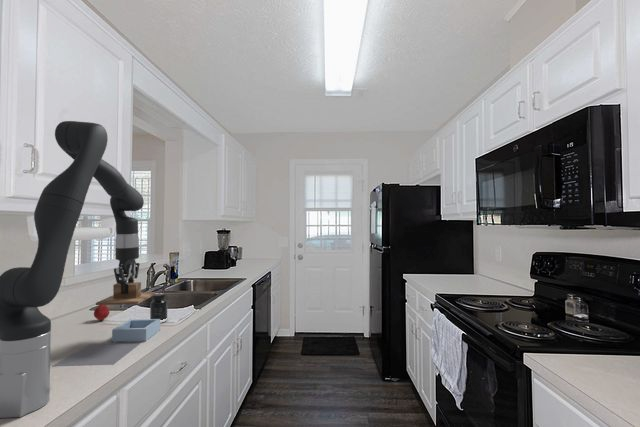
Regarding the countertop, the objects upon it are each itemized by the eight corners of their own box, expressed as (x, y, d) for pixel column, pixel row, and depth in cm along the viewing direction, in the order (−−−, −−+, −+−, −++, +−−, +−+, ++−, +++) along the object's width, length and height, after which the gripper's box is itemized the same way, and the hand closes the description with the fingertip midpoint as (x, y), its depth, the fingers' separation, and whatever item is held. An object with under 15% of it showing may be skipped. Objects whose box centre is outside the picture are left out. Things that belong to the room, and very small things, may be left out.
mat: (113, 366, 99) (113, 364, 99) (51, 367, 98) (51, 366, 98) (141, 343, 117) (141, 342, 117) (90, 345, 116) (90, 343, 116)
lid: (137, 304, 112) (137, 287, 112) (95, 305, 111) (95, 288, 111) (155, 294, 126) (155, 279, 126) (118, 294, 125) (118, 279, 125)
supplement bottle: (170, 319, 145) (170, 293, 145) (160, 324, 138) (160, 296, 139) (157, 319, 146) (157, 292, 147) (146, 323, 140) (146, 295, 140)
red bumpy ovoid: (112, 319, 146) (112, 301, 146) (100, 323, 140) (101, 304, 140) (102, 318, 147) (102, 300, 147) (90, 322, 142) (90, 303, 142)
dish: (146, 342, 118) (146, 328, 118) (112, 343, 117) (112, 329, 117) (160, 331, 130) (160, 318, 130) (129, 332, 129) (129, 319, 129)
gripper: (127, 248, 112) (127, 297, 112) (146, 244, 126) (147, 288, 126) (105, 248, 111) (105, 298, 111) (126, 244, 125) (127, 288, 126)
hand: (127, 292), depth 119 cm, fingers closed on lid, 3 cm apart
